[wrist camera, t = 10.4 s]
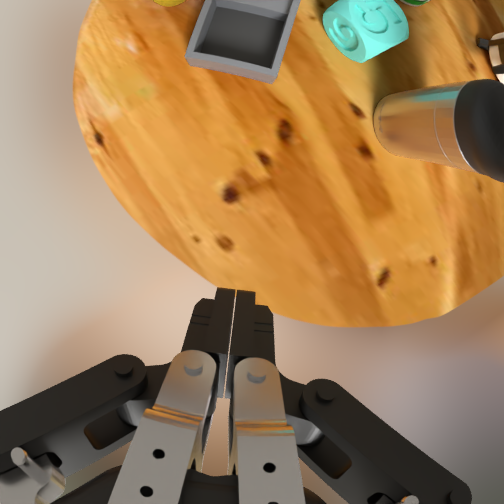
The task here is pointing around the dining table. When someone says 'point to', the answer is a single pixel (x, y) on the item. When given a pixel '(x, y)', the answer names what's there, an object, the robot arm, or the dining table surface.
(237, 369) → the robot arm
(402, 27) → the decorative dice
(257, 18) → the tray
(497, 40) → the coffee press
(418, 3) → the soda can
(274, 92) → the dining table surface
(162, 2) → the lemon
